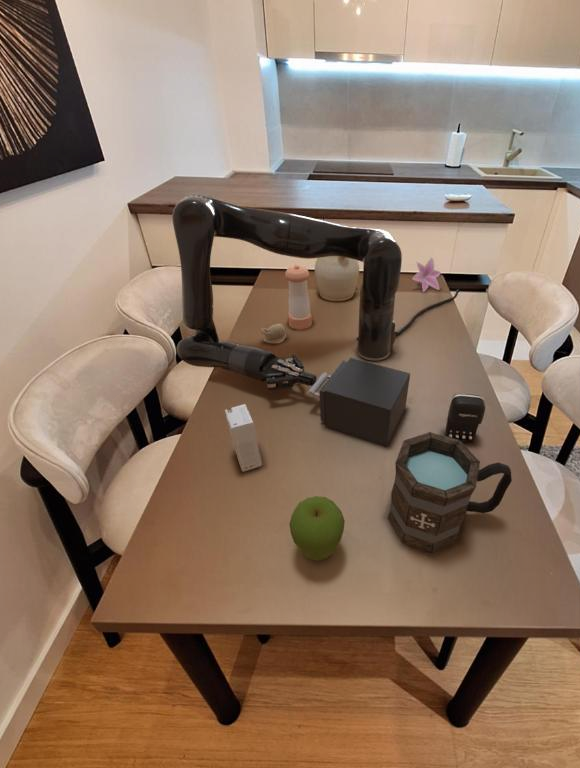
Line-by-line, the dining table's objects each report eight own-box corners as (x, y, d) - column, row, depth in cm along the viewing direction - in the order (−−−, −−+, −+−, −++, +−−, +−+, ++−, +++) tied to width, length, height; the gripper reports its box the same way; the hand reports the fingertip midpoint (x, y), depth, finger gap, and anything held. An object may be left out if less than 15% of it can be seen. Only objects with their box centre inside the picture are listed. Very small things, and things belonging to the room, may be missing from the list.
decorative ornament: (290, 339, 119) (288, 323, 116) (265, 348, 115) (263, 332, 112) (282, 333, 122) (281, 317, 118) (258, 342, 117) (256, 326, 114)
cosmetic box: (263, 465, 81) (255, 422, 73) (241, 473, 79) (231, 429, 72) (255, 445, 85) (247, 402, 78) (233, 452, 83) (223, 408, 76)
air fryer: (325, 427, 90) (324, 390, 83) (349, 392, 100) (350, 357, 93) (386, 447, 86) (390, 410, 79) (405, 408, 96) (410, 373, 89)
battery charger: (443, 443, 87) (453, 403, 80) (442, 430, 90) (451, 391, 83) (476, 446, 86) (488, 406, 79) (474, 433, 89) (486, 394, 82)
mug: (391, 553, 67) (400, 498, 57) (383, 487, 77) (390, 432, 68) (507, 551, 67) (534, 497, 58) (483, 486, 78) (503, 431, 69)
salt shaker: (310, 330, 124) (307, 270, 112) (287, 329, 124) (282, 269, 112) (312, 318, 129) (310, 261, 117) (290, 318, 129) (285, 260, 117)
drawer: (303, 415, 92) (301, 385, 86) (327, 385, 101) (326, 356, 95) (376, 438, 86) (378, 407, 81) (394, 404, 95) (397, 374, 90)
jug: (358, 304, 138) (361, 230, 123) (313, 303, 138) (310, 229, 123) (358, 285, 150) (361, 216, 135) (317, 284, 150) (315, 215, 135)
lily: (405, 293, 149) (416, 276, 141) (405, 269, 154) (417, 252, 146) (433, 302, 152) (446, 285, 143) (433, 279, 157) (446, 262, 149)
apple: (349, 567, 65) (351, 527, 57) (298, 581, 63) (293, 542, 55) (336, 521, 71) (336, 480, 64) (289, 533, 69) (283, 492, 62)
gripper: (233, 364, 91) (300, 384, 86) (265, 336, 100) (327, 353, 95) (238, 390, 95) (302, 410, 90) (268, 361, 105) (327, 378, 100)
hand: (315, 381), depth 93 cm, fingers closed
